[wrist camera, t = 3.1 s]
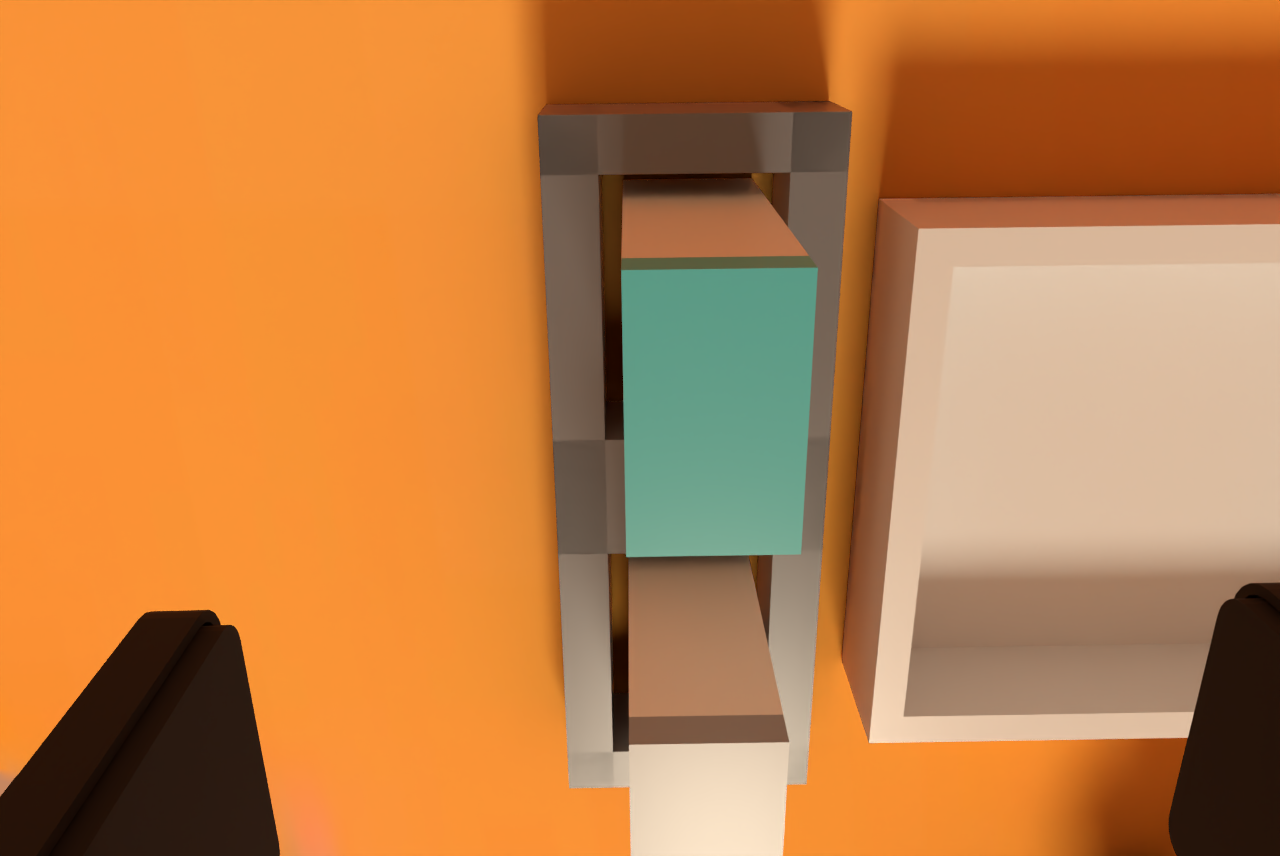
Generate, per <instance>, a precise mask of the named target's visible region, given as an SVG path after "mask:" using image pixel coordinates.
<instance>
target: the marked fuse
mask: <svg viewBox="0 0 1280 856" xmlns="http://www.w3.org/2000/svg"><path fill="white" fill-rule="evenodd" d="M817 274H818V267H817V266H816V264H815V263H814V262H813V260H812V259H811V258H810V256H809V255H808V254H807V252H806V251H805V250H804V248H803V247H802V245H801V244H800V243H799V241H798V240H797V239H796V237H795V236H794V235H793V233H792V232H791V231H790V229H789V228H788V227H787V225H786V224H785V223H784V221H783V220H782V218H781V217H780V216H779V214H778V213H777V212H776V210H775V209H774V208H773V206H772V205H771V204H770V202H769V201H768V200H767V198H766V197H765V195H764V194H763V193H762V191H761V190H760V189H759V187H758V186H757V185H756V183H755V182H754V181H753V179H752V178H724V179H643V180H623V206H622V255H621V288H622V345H623V402H624V458H625V515H626V557H666V556H732V555H798V554H801V547H802V530H803V513H804V496H805V479H806V462H807V445H808V428H809V411H810V394H811V377H812V359H813V342H814V325H815V308H816V291H817Z"/></svg>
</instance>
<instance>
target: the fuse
mask: <svg viewBox="0 0 1280 856" xmlns="http://www.w3.org/2000/svg"><path fill="white" fill-rule="evenodd" d="M788 758H789V738H788V734H787V729H786V724H785V720H784V715H783V711H782V706H781V702H780V697H779V693H778V688H777V684H776V679H775V674H774V670H773V665H772V661H771V656H770V652H769V647H768V643H767V638H766V633H765V629H764V624H763V620H762V615H761V611H760V606H759V602H758V597H757V593H756V588H755V583H754V579H753V574H752V570H751V565H750V561H749V556H748V555H732V556H666V557H629V777H630V833H631V856H783V843H784V826H785V809H786V792H787V775H788Z"/></svg>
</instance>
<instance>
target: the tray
mask: <svg viewBox="0 0 1280 856" xmlns="http://www.w3.org/2000/svg"><path fill="white" fill-rule="evenodd" d="M1275 582H1280V194H1210V195H1129V196H1048V197H966V198H885V199H879V202H878V214H877V227H876V239H875V252H874V264H873V276H872V289H871V301H870V314H869V326H868V339H867V351H866V364H865V376H864V388H863V401H862V413H861V426H860V438H859V451H858V463H857V475H856V488H855V500H854V513H853V525H852V538H851V550H850V563H849V575H848V587H847V600H846V612H845V625H844V637H843V650H842V663H843V666H844V669H845V672H846V675H847V678H848V681H849V684H850V687H851V690H852V693H853V696H854V699H855V702H856V705H857V708H858V711H859V714H860V717H861V720H862V723H863V726H864V729H865V732H866V735H867V738H868V741H869V743H897V742H958V741H1019V740H1079V739H1140V738H1188V735H1189V731H1190V727H1191V723H1192V719H1193V715H1194V710H1195V706H1196V702H1197V698H1198V694H1199V690H1200V686H1201V681H1202V677H1203V673H1204V669H1205V665H1206V661H1207V656H1208V652H1209V648H1210V644H1211V640H1212V636H1213V632H1214V627H1215V623H1216V619H1217V615H1218V612H1219V610H1220V607H1221V606H1222V604H1223V603H1224V602H1225V601H1227V600H1229V599H1234V597H1235V595H1236V593H1237V592H1238V591H1239V590H1240V588H1241V587H1242V586H1244V585H1247V584H1249V583H1275Z"/></svg>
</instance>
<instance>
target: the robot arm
mask: <svg viewBox="0 0 1280 856" xmlns="http://www.w3.org/2000/svg"><path fill="white" fill-rule="evenodd" d="M1169 834H1170V838H1171V843H1172V845H1173V848H1174V851H1175V853H1176V855H1177V856H1280V582H1275V583H1249V584H1247V585H1244V586H1242V587H1241V588H1240V590H1239V591H1238V592H1237V593H1236V595H1235V597H1234V599H1229V600H1227V601H1225V602H1224V603H1223V604H1222V606H1221V607H1220V610H1219V612H1218V615H1217V619H1216V623H1215V627H1214V632H1213V636H1212V640H1211V644H1210V648H1209V652H1208V656H1207V661H1206V665H1205V669H1204V673H1203V677H1202V681H1201V686H1200V690H1199V694H1198V698H1197V702H1196V706H1195V710H1194V715H1193V719H1192V723H1191V727H1190V731H1189V735H1188V739H1187V744H1186V748H1185V752H1184V756H1183V760H1182V764H1181V768H1180V773H1179V777H1178V781H1177V785H1176V789H1175V793H1174V797H1173V802H1172V806H1171V810H1170V814H1169ZM0 856H280V849H279V841H278V836H277V831H276V825H275V820H274V815H273V809H272V804H271V799H270V794H269V788H268V783H267V778H266V772H265V767H264V762H263V757H262V751H261V746H260V741H259V735H258V730H257V725H256V720H255V714H254V709H253V704H252V698H251V693H250V688H249V683H248V677H247V672H246V667H245V661H244V656H243V651H242V646H241V640H240V637H239V633H238V631H237V629H236V628H235V627H234V626H232V625H221V624H220V621H219V619H218V617H217V616H216V614H215V613H214V612H212V611H210V610H193V611H154V612H148V613H145V614H144V615H143V616H142V617H140V618H139V619H138V621H137V622H136V623H135V625H134V626H133V627H132V628H131V630H130V631H129V632H128V634H127V635H126V636H125V638H124V639H123V640H122V641H121V643H120V644H119V645H118V647H117V648H116V649H115V650H114V652H113V653H112V654H111V656H110V657H109V658H108V659H107V661H106V662H105V663H104V665H103V666H102V667H101V668H100V670H99V671H98V672H97V674H96V675H95V676H94V677H93V679H92V680H91V681H90V683H89V684H88V685H87V687H86V688H85V689H84V690H83V692H82V693H81V694H80V696H79V697H78V698H77V699H76V701H75V702H74V703H73V705H72V706H71V707H70V708H69V710H68V711H67V712H66V714H65V715H64V716H63V717H62V719H61V720H60V721H59V723H58V724H57V725H56V727H55V728H54V729H53V730H52V732H51V733H50V734H49V736H48V737H47V738H46V739H45V741H44V742H43V743H42V745H41V746H40V747H39V748H38V750H37V751H36V752H35V754H34V755H33V756H32V757H31V759H30V760H29V761H28V763H27V764H26V765H25V766H24V768H23V769H22V770H21V772H20V773H19V774H18V775H17V776H16V777H15V778H14V780H13V781H12V782H11V784H10V785H9V786H8V788H7V789H6V790H5V792H4V793H3V794H2V795H1V796H0Z"/></svg>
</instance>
